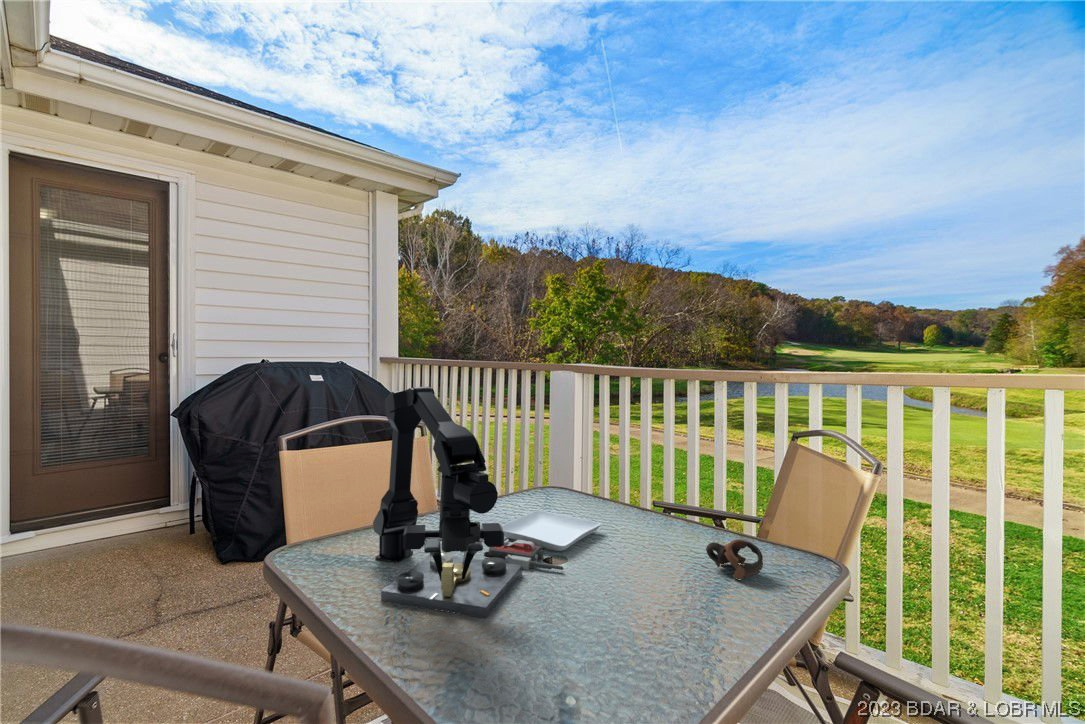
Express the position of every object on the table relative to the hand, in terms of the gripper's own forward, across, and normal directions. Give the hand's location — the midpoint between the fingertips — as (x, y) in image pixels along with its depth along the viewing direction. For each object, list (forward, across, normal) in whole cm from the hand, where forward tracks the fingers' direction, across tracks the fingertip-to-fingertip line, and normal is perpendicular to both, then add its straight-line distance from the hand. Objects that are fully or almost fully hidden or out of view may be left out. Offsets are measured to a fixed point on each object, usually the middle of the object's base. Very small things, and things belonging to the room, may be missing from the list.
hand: (452, 579), depth 99 cm
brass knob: (+3, 0, +5) cm, 5 cm away
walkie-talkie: (+5, +18, +18) cm, 26 cm away
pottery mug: (+3, +62, +4) cm, 63 cm away
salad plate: (+5, +27, +34) cm, 43 cm away
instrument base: (+5, +1, +8) cm, 9 cm away
